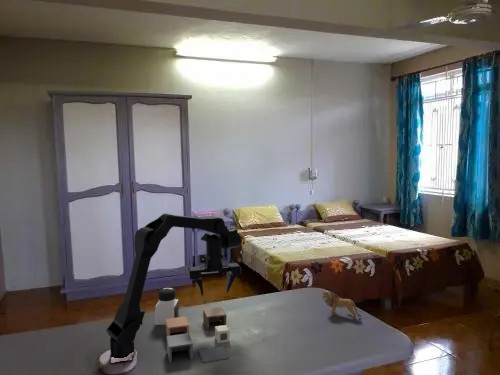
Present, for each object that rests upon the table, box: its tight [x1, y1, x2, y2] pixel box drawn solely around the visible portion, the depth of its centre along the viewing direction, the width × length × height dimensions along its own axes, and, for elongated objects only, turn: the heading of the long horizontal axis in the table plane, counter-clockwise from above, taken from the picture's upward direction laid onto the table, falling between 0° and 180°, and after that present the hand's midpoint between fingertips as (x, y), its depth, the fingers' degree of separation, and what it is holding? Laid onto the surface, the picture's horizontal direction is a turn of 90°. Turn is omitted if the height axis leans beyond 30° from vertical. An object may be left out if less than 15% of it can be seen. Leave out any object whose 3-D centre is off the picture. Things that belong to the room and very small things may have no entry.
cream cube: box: [214, 324, 231, 344], centre depth 132 cm, size 4×4×4 cm
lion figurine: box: [321, 290, 362, 320], centre depth 151 cm, size 15×5×9 cm, turn 72°
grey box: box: [166, 332, 194, 364], centre depth 122 cm, size 7×7×5 cm
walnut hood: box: [202, 306, 227, 331], centre depth 143 cm, size 7×7×5 cm
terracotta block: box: [165, 316, 190, 337], centre depth 134 cm, size 7×7×5 cm
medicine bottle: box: [154, 287, 180, 326], centre depth 146 cm, size 7×7×12 cm
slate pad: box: [198, 346, 230, 364], centre depth 122 cm, size 8×7×1 cm
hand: (214, 294), depth 142 cm, fingers open, 9 cm apart
